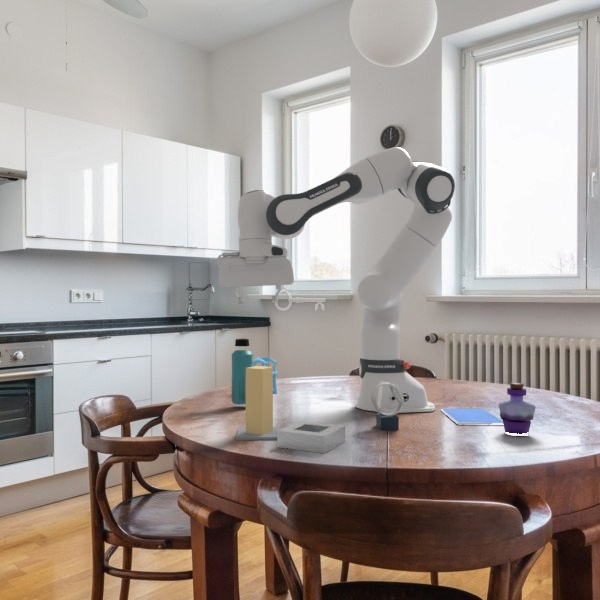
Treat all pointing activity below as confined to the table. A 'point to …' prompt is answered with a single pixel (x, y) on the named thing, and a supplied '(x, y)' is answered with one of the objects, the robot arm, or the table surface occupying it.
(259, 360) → the chair
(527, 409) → the potion bottle
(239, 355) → the beverage bottle
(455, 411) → the tablet computer
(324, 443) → the socket block
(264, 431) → the ochre peg
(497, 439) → the table surface
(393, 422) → the glass trophy
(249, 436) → the slate mat
